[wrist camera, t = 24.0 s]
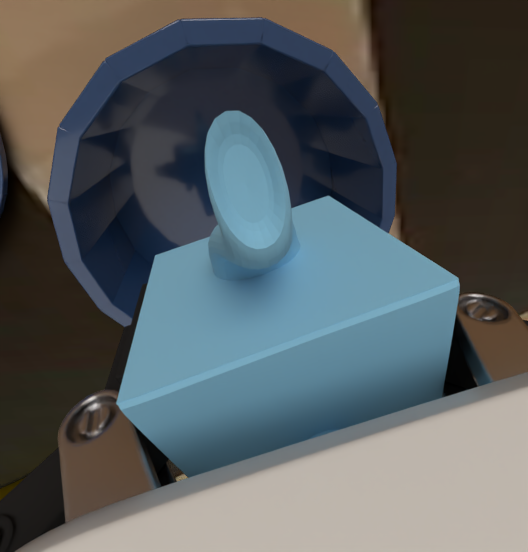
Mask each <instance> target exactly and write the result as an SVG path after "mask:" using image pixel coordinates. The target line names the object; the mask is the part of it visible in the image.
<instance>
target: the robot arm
mask: <svg viewBox="0 0 528 552" xmlns="http://www.w3.org/2000/svg"><path fill="white" fill-rule="evenodd" d="M147 284H148V283H146V284H143V285H142V287H141V291H140V294H139V298H138V301H137V305H136V308H135V312H134V315H133V318H132V322H131V325H128V326H126V327H125V328H124V330H123V334H122V337H121V340H120V343H119V346H118V349H117V353H116V356H115V359H114V362H113V365H112V368H111V372H110V375H109V378H108V381H107V384H106V387H105V390H102V391H98V392H96V393H94V394H92V395H89V396H88V397H86V398H85V399H83V400H82V401H80V402H79V403H78V404H77V405H76V406H75V407H74V408H73V409H72V410H71V411H70V412H69V413H68V414H67V416H66V417H65V419H64V420H63V422H62V424H61V426H60V429H59V434H58V443H59V447H58V448H57V449H56V450H55V451H54V452H53V453H52V454H51V455H49V456H48V457H47V458H46V459H45V460H44V461H43V462H42V463H41V464H40V465H39V466H37V467H36V468H35V469H34V470H33V471H32V472H31V473H30V474H29V475H28V476H27V477H25V478H24V479H23V480H22V481H21V482H20V483H19V484H18V485H17V486H16V487H14V488H13V489H12V490H11V491H10V492H9V493H8V494H7V495H6V496H5V497H4V498H2V499H1V500H0V552H528V321H526V320H522V318H521V317H520V316H519V315H518V313H517V312H516V311H515V310H514V308H512V307H511V306H510V305H509V304H508V303H507V302H505V301H503V300H501V299H500V298H497V297H494V296H492V295H488V294H484V293H477V292H465V293H461V294H459V298H458V305H457V311H456V317H455V323H454V330H453V335H452V341H451V347H450V353H449V359H448V365H447V370H446V376H445V382H444V387H443V393H442V398H440V399H436V400H433V401H430V402H427V403H423V404H420V405H417V406H414V407H410V408H407V409H404V410H401V411H398V412H394V413H391V414H388V415H385V416H382V417H378V418H375V419H372V420H369V421H366V422H362V423H359V424H356V425H353V426H350V427H346V428H343V429H340V430H337V431H334V432H331V433H327V434H324V435H321V436H318V437H315V438H312V439H308V440H305V441H302V442H299V443H296V444H292V445H289V446H286V447H283V448H280V449H277V450H274V451H271V452H267V453H264V454H261V455H258V456H255V457H252V458H249V459H246V460H242V461H239V462H236V463H233V464H230V465H227V466H224V467H221V468H217V469H214V470H211V471H208V472H205V473H202V474H199V475H196V476H192V477H189V478H186V479H183V480H180V481H176V478H175V476H174V473H173V471H172V469H171V466H170V464H169V462H168V459H169V458H168V457H167V456H166V455H164V454H163V453H162V452H161V451H160V450H159V449H158V448H157V447H156V446H155V445H154V444H153V443H152V442H151V441H150V440H149V439H148V438H147V437H146V436H145V435H144V434H143V433H142V432H141V431H140V430H139V429H138V428H137V427H136V426H135V425H134V424H133V423H132V422H131V421H130V420H129V419H128V418H127V417H126V416H125V415H124V414H123V412H122V411H121V410H120V408H119V406H118V405H117V404H116V402H117V399H118V395H119V391H120V387H121V383H122V380H123V376H124V372H125V368H126V364H127V361H128V357H129V353H130V349H131V345H132V342H133V338H134V334H135V330H136V326H137V322H138V319H139V315H140V311H141V307H142V303H143V300H144V296H145V292H146V288H147Z"/></svg>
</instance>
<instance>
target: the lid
mask: <svg viewBox="0 0 528 552" xmlns="http://www.w3.org/2000/svg"><path fill="white" fill-rule="evenodd" d="M7 188H8V170H7V160H6V153H5V150H4V146H3V142H2V138H1V134H0V217H1V215H2V213H3V209H4V205H5V201H6V197H7Z"/></svg>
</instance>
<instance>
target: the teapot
mask: <svg viewBox="0 0 528 552" xmlns="http://www.w3.org/2000/svg"><path fill="white" fill-rule="evenodd" d="M205 175H206V181H207V187H208V193H209V197H210V201H211V204H212V208H213V211H214V214H215V217H216V220H217V222H218V225H217V226H216V227H215V228H214V230H213V231H212V233H211V235H210V237H207V238H204V239H201V240H198V241H195V242H192V243H190V244H187V245H184V246H181V247H178V248H175V249H172V250H169V251H166V252H163V253H161V254H158V255H155V258H154V262H153V265H152V269H151V273H150V277H149V281H148V284H147V288H146V292H145V296H144V300H143V303H142V307H141V311H140V315H139V319H138V322H137V326H136V330H135V334H134V338H133V342H132V345H131V349H130V353H129V357H128V361H127V364H126V368H125V372H124V376H123V380H122V383H121V387H120V391H119V395H118V399H117V402H116V404H117V405H118V406H119V408H120V410H121V411H122V412H123V414H124V415H125V416H126V417H127V418H128V419H129V420H130V421H131V422H132V423H133V424H134V425H135V426H136V427H137V428H138V429H139V430H140V431H141V432H142V433H143V434H144V435H145V436H146V437H147V438H148V439H149V440H150V441H151V442H152V443H153V444H154V445H155V446H156V447H157V448H158V449H159V450H160V451H161V452H162V453H163V454H164V455H166V456H167V457H168V458H169V459H170V460H171V461H172V462H173V463H174V464H175V465H176V466H177V467H178V468H179V469H180V470H181V471H182V472H183V473H184V474H185V475H186V476H187V477H188V478H189V477H192V476H196V475H199V474H202V473H205V472H208V471H211V470H214V469H217V468H221V467H224V466H227V465H230V464H233V463H236V462H239V461H242V460H246V459H249V458H252V457H255V456H258V455H261V454H264V453H267V452H271V451H274V450H277V449H280V448H283V447H286V446H289V445H292V444H296V443H299V442H302V441H305V440H308V439H312V438H315V437H318V436H321V435H324V434H327V433H331V432H334V431H337V430H340V429H343V428H346V427H350V426H353V425H356V424H359V423H362V422H366V421H369V420H372V419H375V418H378V417H382V416H385V415H388V414H391V413H394V412H398V411H401V410H404V409H407V408H410V407H414V406H417V405H420V404H423V403H427V402H430V401H433V400H436V399H440V398H442V393H443V387H444V382H445V376H446V370H447V365H448V359H449V353H450V347H451V341H452V335H453V330H454V323H455V317H456V311H457V305H458V298H459V290H460V284H459V278H458V277H456V276H454V275H453V274H451V273H450V272H448V271H447V270H445V269H443V268H442V267H440V266H439V265H437V264H436V263H434V262H432V261H431V260H429V259H428V258H426V257H424V256H423V255H421V254H420V253H418V252H417V251H415V250H413V249H412V248H410V247H409V246H407V245H406V244H404V243H402V242H401V241H399V240H398V239H396V238H395V237H393V236H391V235H390V234H388V233H387V232H385V231H384V230H382V229H380V228H379V227H377V226H376V225H374V224H373V223H371V222H369V221H368V220H366V219H365V218H363V217H362V216H360V215H358V214H357V213H355V212H354V211H352V210H351V209H349V208H347V207H346V206H344V205H343V204H341V203H340V202H338V201H336V200H335V199H333V198H332V197H330V196H326V197H323V198H320V199H317V200H314V201H311V202H308V203H305V204H302V205H300V206H297V207H294V208H291V203H290V196H289V190H288V186H287V182H286V179H285V175H284V172H283V169H282V166H281V163H280V161H279V159H278V156H277V154H276V151H275V149H274V147H273V145H272V144H271V142H270V140H269V139H268V137H267V135H266V134H265V132H264V130H263V129H262V128H261V127H260V126H259V125H258V124H257V123H256V122H255V121H254V120H253V119H252V118H251V117H250V116H248V115H246V114H244V113H242V112H240V111H225V112H224V113H222V114H221V115H219V116H218V117H216V118H215V119H214V121H213V123H212V125H211V127H210V129H209V131H208V133H207V138H206V144H205Z"/></svg>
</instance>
